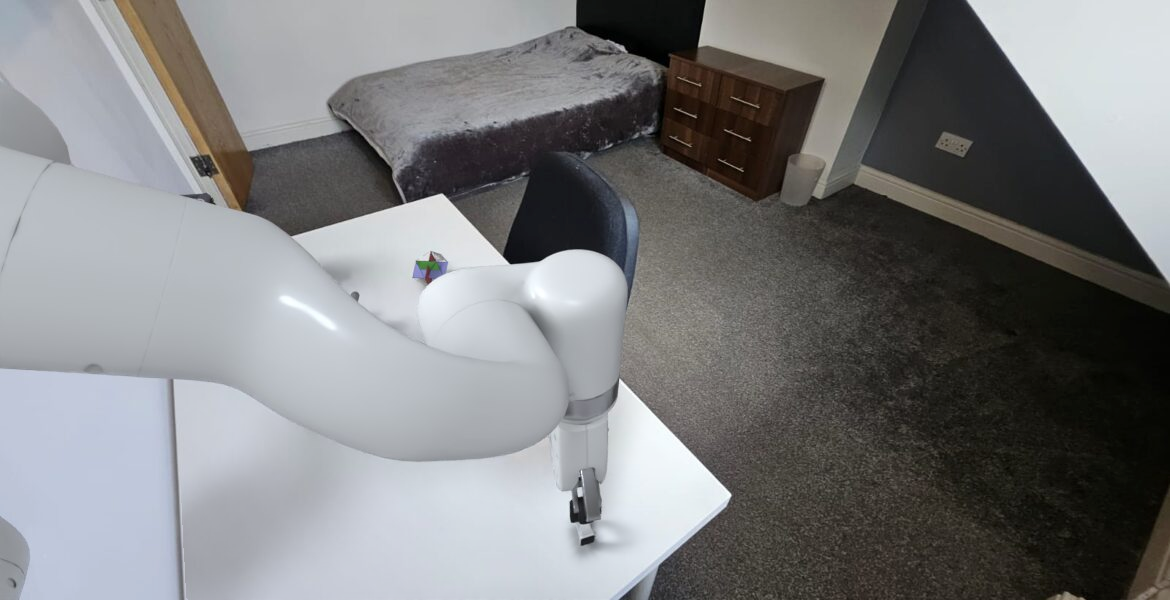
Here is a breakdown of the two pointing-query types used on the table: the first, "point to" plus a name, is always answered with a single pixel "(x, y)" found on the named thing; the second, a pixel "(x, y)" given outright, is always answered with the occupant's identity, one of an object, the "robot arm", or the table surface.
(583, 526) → the smartwatch
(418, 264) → the geometric puzzle
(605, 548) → the table surface
